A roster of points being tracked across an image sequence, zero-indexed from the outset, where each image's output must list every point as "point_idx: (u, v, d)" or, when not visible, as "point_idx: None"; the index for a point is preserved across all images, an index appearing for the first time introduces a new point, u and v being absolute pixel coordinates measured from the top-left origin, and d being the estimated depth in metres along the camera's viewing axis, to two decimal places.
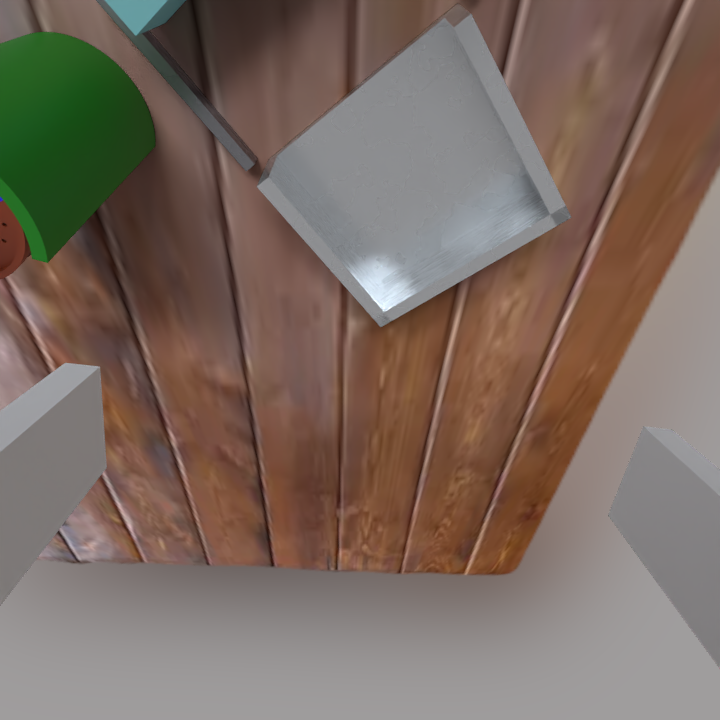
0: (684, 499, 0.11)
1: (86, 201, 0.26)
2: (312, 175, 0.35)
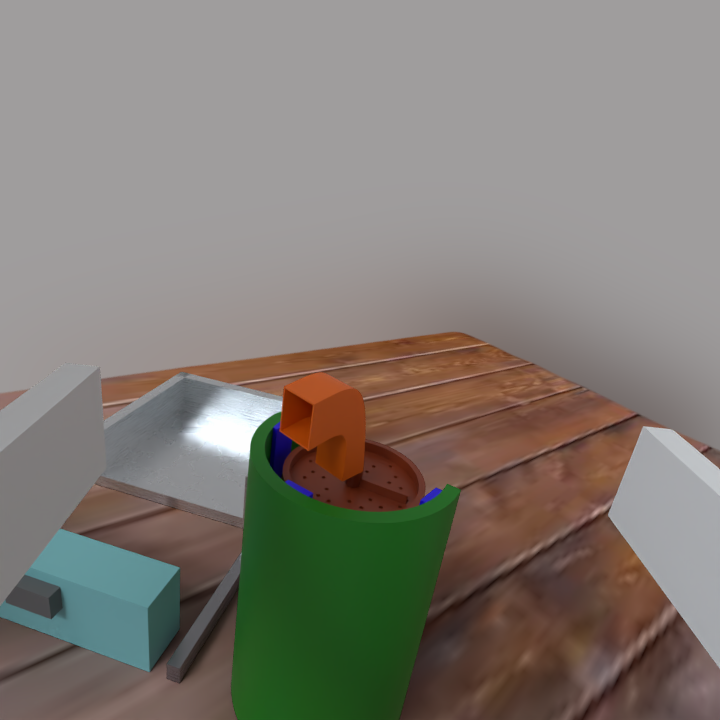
0: (684, 499, 0.11)
1: None
2: None
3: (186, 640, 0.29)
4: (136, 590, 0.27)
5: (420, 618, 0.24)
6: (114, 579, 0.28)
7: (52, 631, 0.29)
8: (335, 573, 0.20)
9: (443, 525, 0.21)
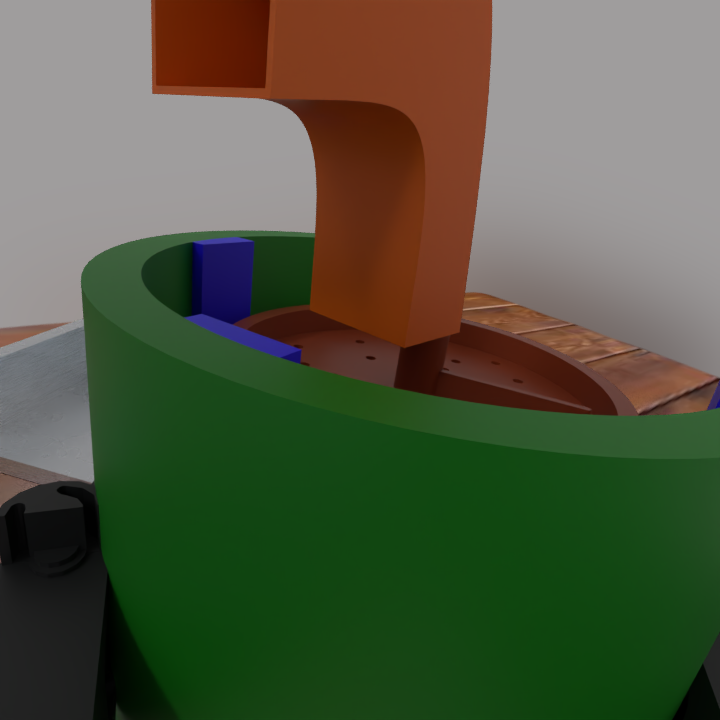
0: None
1: None
2: None
3: None
4: None
5: None
6: None
7: None
8: (408, 704, 0.04)
9: None
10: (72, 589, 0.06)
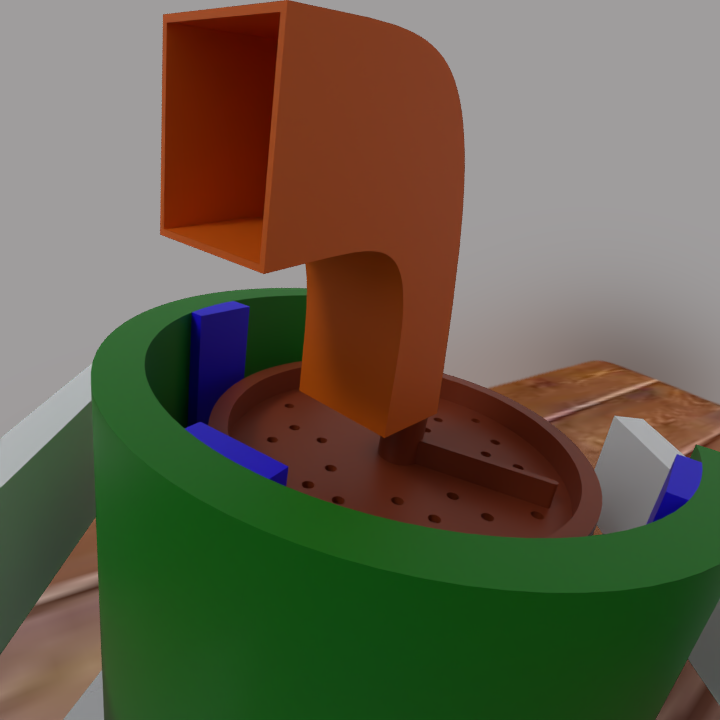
0: (650, 485, 0.11)
1: None
2: None
3: None
4: None
5: None
6: None
7: None
8: None
9: None
10: None
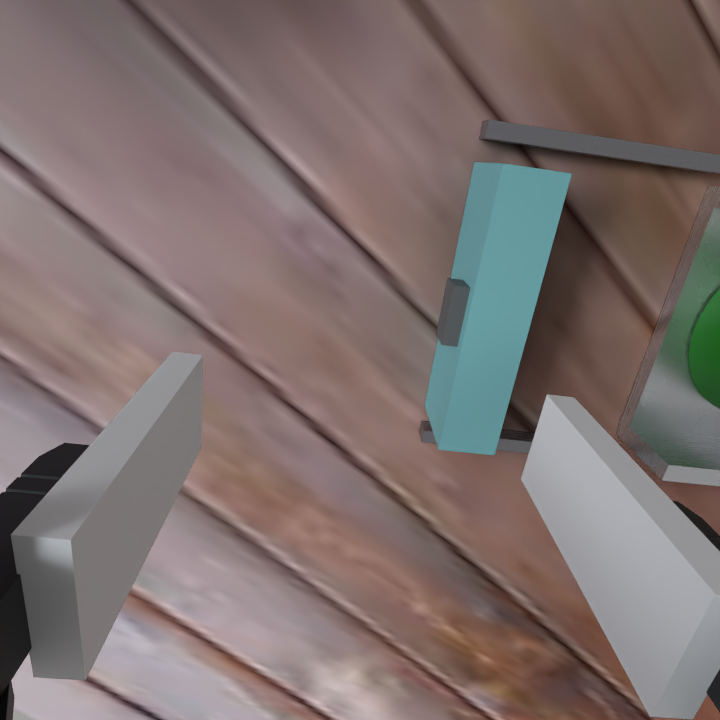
0: (571, 455, 0.12)
1: None
2: (673, 416, 0.30)
3: None
4: (457, 430, 0.26)
5: None
6: (468, 404, 0.25)
7: None
8: None
9: None
10: None
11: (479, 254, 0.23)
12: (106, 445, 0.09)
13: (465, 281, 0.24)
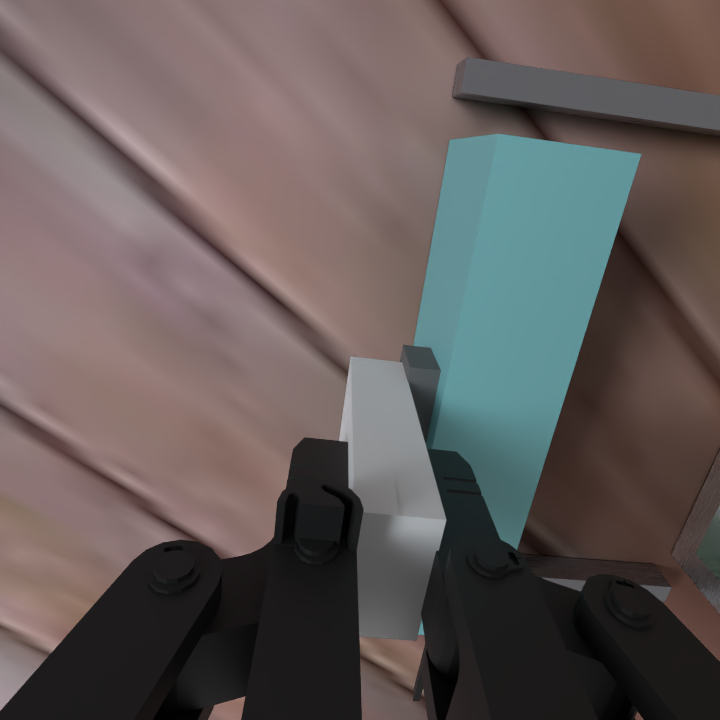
0: None
1: None
2: None
3: None
4: None
5: None
6: None
7: None
8: None
9: None
10: (330, 580, 0.07)
11: (454, 312, 0.12)
12: (365, 439, 0.10)
13: (433, 353, 0.14)
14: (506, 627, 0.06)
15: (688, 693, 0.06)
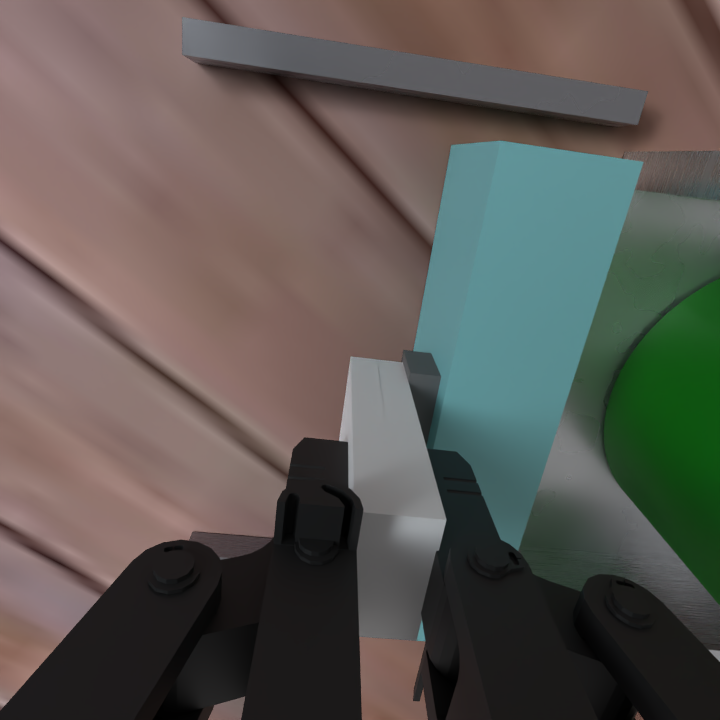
0: None
1: None
2: (587, 529, 0.19)
3: None
4: None
5: None
6: None
7: None
8: None
9: None
10: (330, 580, 0.07)
11: (455, 319, 0.12)
12: (365, 439, 0.10)
13: (434, 358, 0.14)
14: (506, 627, 0.06)
15: (688, 693, 0.06)
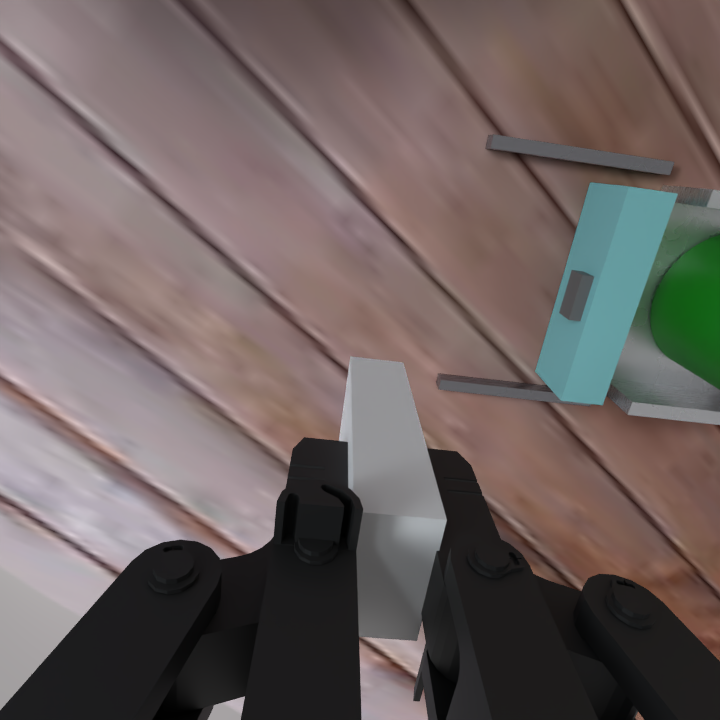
0: None
1: None
2: (639, 369, 0.38)
3: (461, 384, 0.38)
4: (576, 385, 0.34)
5: None
6: (586, 365, 0.33)
7: (560, 292, 0.36)
8: None
9: None
10: (330, 580, 0.07)
11: (604, 252, 0.31)
12: (365, 439, 0.10)
13: (586, 272, 0.33)
14: (507, 627, 0.06)
15: (689, 694, 0.06)
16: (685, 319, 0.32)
